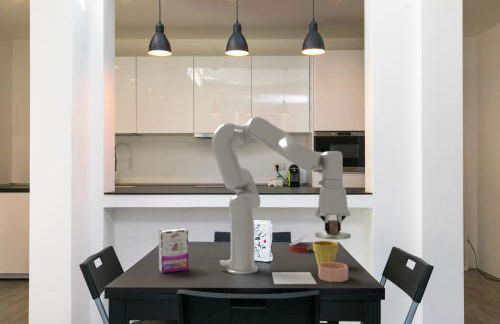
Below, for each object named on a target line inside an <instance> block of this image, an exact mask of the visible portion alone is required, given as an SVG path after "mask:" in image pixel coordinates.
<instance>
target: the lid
mask: <svg viewBox="0 0 500 324" xmlns="http://www.w3.org/2000/svg"><path fill="white" fill-rule="evenodd" d="M328 221H329V224H330V233H329V234H327V233H326V231H325V230H324V231H318V232H315V233H314V236H315V237H316V238H318V239H322V240H333V241H334V240H337V241H338V240H347V239H350V238H351V237H352V236H351V235H352V234H351V233H349V232H345V231H344V232H343V231H339V234H338V221H337V219H335V220H334V219H328Z"/></svg>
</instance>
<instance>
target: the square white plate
mask: <svg viewBox="0 0 500 324" xmlns="http://www.w3.org/2000/svg"><path fill="white" fill-rule="evenodd" d="M271 276H272V279H273V284H274V285H305V284H306V285H317V284H318V283H317V282H316V280H315V278H314V276H312V273H311V272H309V271H308V272H307V271H305V272H304V271H299V272H298V271H297V272H294V271H293V272H291V271H290V272H289V271H288V272H285V271H283V272H282V271H281V272H279V271H278V272H276V271H275V272H274V271H273V272H271Z"/></svg>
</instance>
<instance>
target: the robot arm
mask: <svg viewBox="0 0 500 324" xmlns="http://www.w3.org/2000/svg"><path fill="white" fill-rule="evenodd" d="M255 142H259V143H262V144H263V145H264V146H266V147H268V148H269V149H270V150H273V151H274V152H276V153H277V154H278V155H281V157H283V158H285V159H286V160H288V161H289V162H290V163H293V164H295V165H296V166H297V167H299V168H301V169H303V170H305V171H306V172H307V171H308V172H309V171H313V172H314V171H320V170H321V178H322V179H321V180H319V181H318V182H317V184H318V185H321V187H320V188H319V194H318V208H317V209H316V212H315V213H314V215H315V216H316V217H318V219H319V218H320V219H321V220H322V221H323V222H324V232H325V231H326V233H327V234H329V233H330V224H329V221H328V220H330V219H329V217H330V216H331V215H332V216H334V215H335V216H336V221H338V234H339V232H342V229H341V228H342V222H343V221H344V220H345V219H346V218H348V217H350V216H351V213H350V211H349V209H348V196H347V191H346V187H344V185H343V181H344V180H343V174H344V173H343V169H344V168H343V153H342V152H341V151H339V150H331V151H330V150H329V151H324V152H322V151H315V150H312V149H310V148H308V147H307V146H305V145H303V144H301V143H299V142H298V141H296V140H295V139H294V138H293V137H292V136H291V135H290V134H289V133H288V132H286V131H284V130H282V129H281V128H279V127H278V126H276V125H274V124H272V123H271V122H270V121H269V120H268V119H265V118H262V117H259V116H253V117H252V118H250V119H249V120H248V121H247V123H245V124H240V125H239V124H235V123H229V122H227V123H223V124H221V125H219V126H218V127H217V128H216V130H215V131H214V133H213V135H212V138H211V147H212V152H213V153H214V154H213V155H214V158H215V160H216V163H217V166H218V169H219V172H220V175H221V179H222V182H223V185H224V186H225V188H226V189H228V190H230V191H234V192H235V194H234V195H232V197H230V200H229V202H228V203H229V204H228V212H229V218H230V219H229V220H230V221H229V222H230V258H229V259H227V260H221V259H220V260H219V266H222V267H226V271H227V272H228V273H230V274H234V275H236V274H237V275H247V274H254V273H256V272H258V271H259V267H258V266H257V265H255V221H254V214H253V213H256V212H257V211H258V210H259V208H260V206H261V198H260V194H259V192H258V189H257V186H256V183H255V180H254V177H253V175H252V173H251V172H250V171H249V169H247V168H245V167H242V166H241V164H240V161H239V159H238V158H239V157H238V156H237V153H236V151H235V150H234V148H233V147H234V146H244V145H248V144H251V143H255Z"/></svg>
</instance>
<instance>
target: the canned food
mask: <svg viewBox="0 0 500 324" xmlns="http://www.w3.org/2000/svg"><path fill="white" fill-rule="evenodd" d="M305 237H307V234H306V235H304V236H302V237H300V238H298V239H295V240H294V241H292V242H291V243H289V246H288V251H289V252H291V253H299V254H303V253H308V252H309V251H310V244H309V243H303V242H302V241H303V240H304V238H305Z"/></svg>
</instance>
